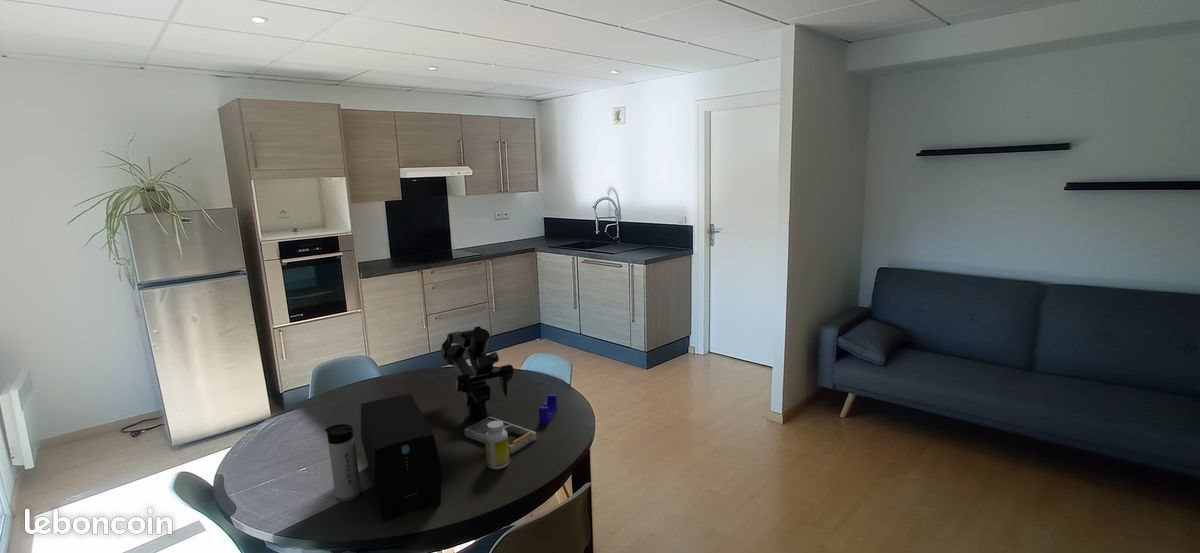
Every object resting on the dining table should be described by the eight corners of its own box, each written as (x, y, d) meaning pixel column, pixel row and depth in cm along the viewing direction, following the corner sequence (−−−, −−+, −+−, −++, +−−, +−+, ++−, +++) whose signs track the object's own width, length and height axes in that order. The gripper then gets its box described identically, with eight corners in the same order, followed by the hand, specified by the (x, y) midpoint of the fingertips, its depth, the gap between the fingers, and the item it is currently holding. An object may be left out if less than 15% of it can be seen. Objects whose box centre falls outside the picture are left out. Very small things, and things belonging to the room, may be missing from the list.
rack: (464, 436, 180) (464, 426, 179) (490, 423, 188) (489, 414, 188) (511, 454, 167) (510, 444, 166) (536, 439, 176) (535, 429, 175)
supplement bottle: (513, 460, 163) (510, 420, 161) (502, 471, 157) (499, 430, 155) (494, 457, 165) (491, 418, 163) (482, 468, 159) (479, 427, 157)
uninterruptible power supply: (378, 524, 135) (369, 450, 131) (364, 464, 164) (356, 402, 160) (445, 503, 143) (438, 433, 139) (419, 449, 172) (413, 390, 168)
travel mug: (339, 489, 151) (330, 422, 147) (364, 487, 151) (355, 421, 148) (330, 502, 145) (321, 433, 141) (356, 500, 145) (347, 431, 141)
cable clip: (545, 409, 198) (544, 393, 197) (557, 409, 198) (556, 394, 196) (535, 424, 187) (534, 407, 186) (547, 424, 186) (547, 408, 185)
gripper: (452, 351, 173) (465, 391, 164) (508, 340, 182) (523, 378, 172) (450, 371, 180) (462, 411, 171) (504, 360, 189) (518, 397, 180)
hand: (492, 398), depth 174 cm, fingers open, 9 cm apart
